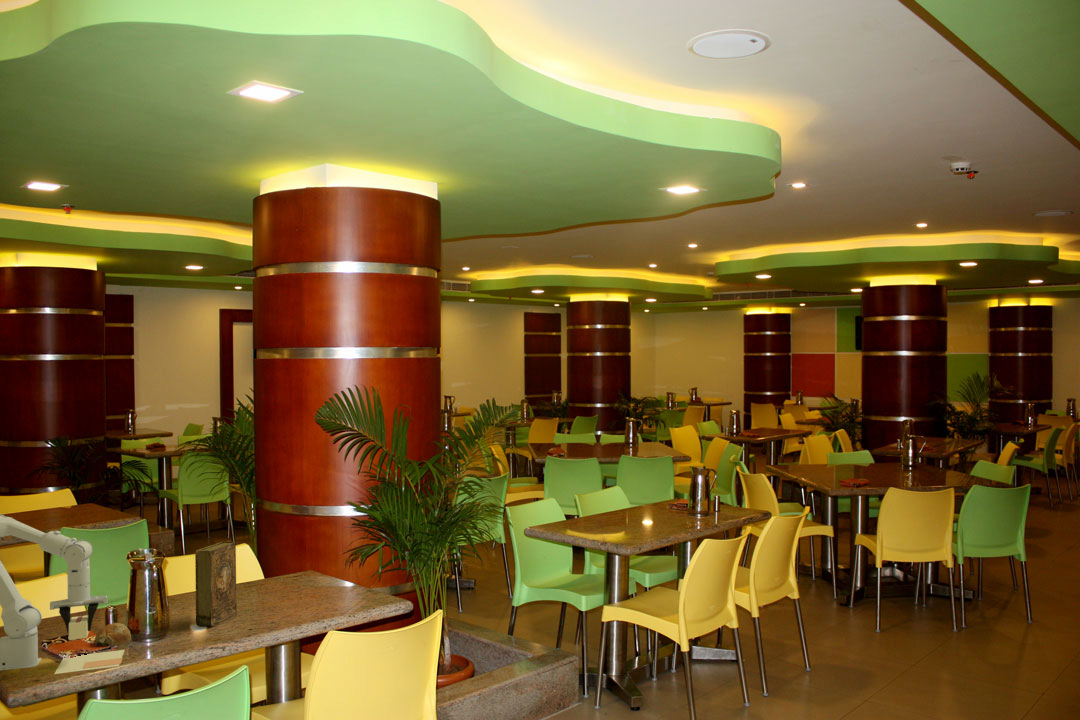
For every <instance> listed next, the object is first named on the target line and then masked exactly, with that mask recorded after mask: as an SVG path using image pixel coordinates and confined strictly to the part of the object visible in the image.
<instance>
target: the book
mask: <svg viewBox="0 0 1080 720" xmlns="http://www.w3.org/2000/svg"><path fill="white" fill-rule="evenodd" d="M236 544H237V542H236V541H220V542H216V543H214V544H211V545H209V546H205V547H203V548H199V549H196V551H195V554H194V555H195V556H194V559H195V562H194V563H195V570H194V571H195V624H196V627H211V628H213V627H216V626H218V625H221V624H222V623H224V622H227V621H228V620H230V619H232V618H234V617H237V616H236V615H238V614H237V613H238V612H237V611H238V610H237V608H238V607H237V562H236V560H237V549H236V548H237V547H236V546H237V545H236Z"/></svg>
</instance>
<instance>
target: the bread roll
mask: <svg viewBox="0 0 1080 720" xmlns="http://www.w3.org/2000/svg"><path fill="white" fill-rule="evenodd" d="M131 640H132V634H131V630H130V629H129V628H128V627H127V626H126V625H125V624H123V623H121V622H113V623H109V624H107V625H105V626H104V627H102V628H101V629H100V630H99V631H98V633H97V634H96V635H95V638H94V644H95V645H96V646H97V645H98V646H97V647H111V646H112V647H113V646H118V645H119V646H120V645H123V644H126V643H128V642H130V641H131ZM101 645H103V646H101ZM108 645H109V646H108Z"/></svg>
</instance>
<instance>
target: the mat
mask: <svg viewBox="0 0 1080 720" xmlns="http://www.w3.org/2000/svg"><path fill="white" fill-rule="evenodd" d="M124 653H125V649H119V650H111V651H103V652H94V653H93V652H92V653H86V654H87V655H84V654H80V655H81V656H76V655H75V656H76V657H73V658H64V657H63V658H62V660H61V662H60V663H59V664H58V667H57V668H56V670H55V672H54V675H59V674H64V673H65V674H67V673H75V672H82V671H90V670H97V669H98V670H99V669H107V668H117V667H119V666H120V665H121V664H122V661H123V659H124V658H123V656H124Z"/></svg>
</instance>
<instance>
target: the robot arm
mask: <svg viewBox="0 0 1080 720" xmlns="http://www.w3.org/2000/svg"><path fill="white" fill-rule="evenodd" d="M7 536H12V537H16V538H18V539H22V540H25V541H27V542H31V543H34V544H38V545H39V548H40V550H41V551H43V552H46V553H49V554H51V555H55V556H57V557H60V558H63V560H64V561H65V562H66V563H67V576H66V577H67V578H66V579H67V598H66V599H60V600H54V601H50V602H49V610H51V611H52V610H56V609H58V610H59V611H58V613H59V614H60V617H61V618H62V620H63V622H64V625H65V628H66V633H67V634H68V635H69V622H70V620H71V608H74V607H75V608H76V607H83V606H87V615H88V631H89V632H91V630H92V625H93V620H94V616H95V614H96V612H97V609H98V607H99V605H102V604H103V605H106V604H108V595H96V596H95V595H93V596H91V574H90V573H91V566H90V563H91V562H90V558H91V556H92V555H93V552H94V547H93V545H92V543H90V542H89V541H87V540H86V539H79V540H77V538H76V537H69V536H66V535H64V534H62V532H61V531H59V530H55V531H53V530H51V531H49V532H43V531H41V530H39V529H37V528H34V527H32V526H30V525H27V524H25V523H23V522H22V521H18V520H17V519H14V517H10V516H5V515H3V514H0V540H1V539H2V538H3V537H7ZM0 607H1V608H2V610H1V615H0V618H1V621H2V623H3V630H4V632H5V636H1V637H0V671H8V670H9V671H10V670H16V669H24V668H32V667H37V666H38V665H39V663H40V662H41V660H42V657H39V648H38V647H39V639H38V636H39V632H38V626H39V625H40V624H41V622H42V618H43V617H42V612H41V611H40V609H38V608H37V607H35V606H34V605H33V603H32V602H31V601H30V600H28V599H26V598H25V597H23V596H22V594H21V593H20V591H19V588H17V586H16V585H15V583H14V581H13V579H12V577H11V576H10V574H9V572H8V570H7V569H6V567H5V565H4V564H3V562H2V561H1V560H0Z"/></svg>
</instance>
